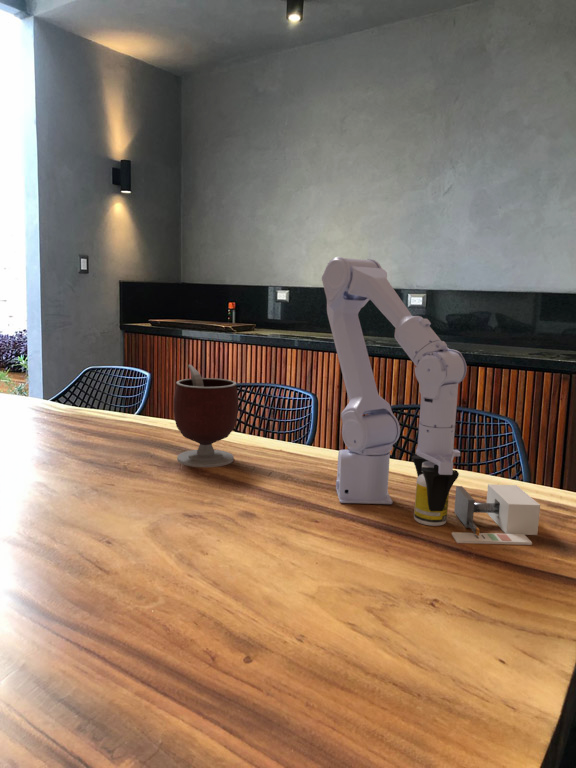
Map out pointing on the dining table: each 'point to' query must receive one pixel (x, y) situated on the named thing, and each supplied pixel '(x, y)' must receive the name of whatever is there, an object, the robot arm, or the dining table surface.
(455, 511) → the plunger
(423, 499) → the supplement bottle
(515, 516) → the gauge
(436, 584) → the dining table surface
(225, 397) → the mate gourd
